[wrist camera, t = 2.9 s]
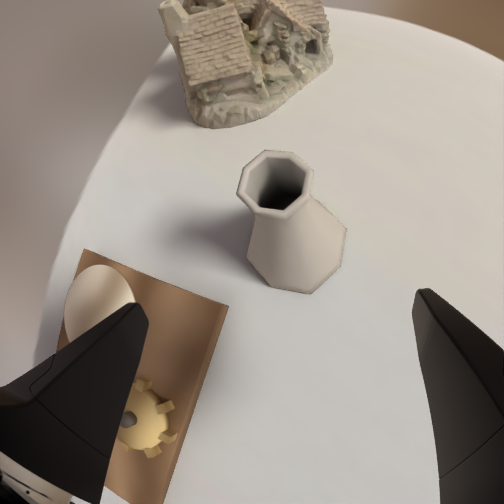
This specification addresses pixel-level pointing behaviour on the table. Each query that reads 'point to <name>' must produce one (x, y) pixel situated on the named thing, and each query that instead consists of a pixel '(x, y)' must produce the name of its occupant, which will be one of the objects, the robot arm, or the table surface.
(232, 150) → the table surface
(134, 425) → the gear board
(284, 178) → the flask
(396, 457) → the table surface
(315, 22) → the ceramic cottage
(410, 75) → the table surface
